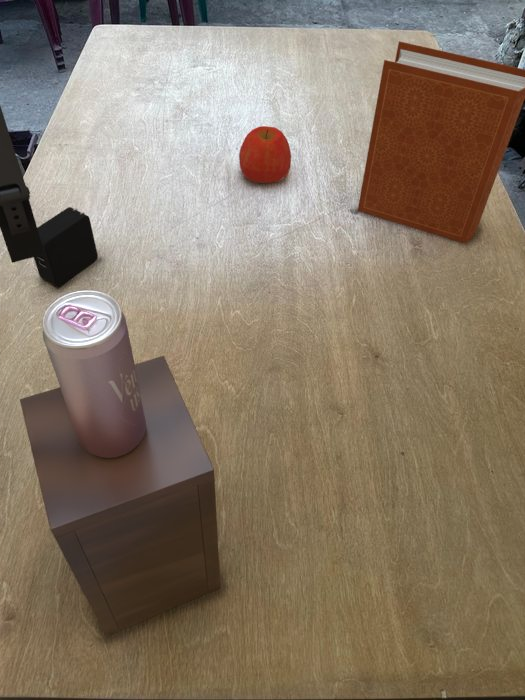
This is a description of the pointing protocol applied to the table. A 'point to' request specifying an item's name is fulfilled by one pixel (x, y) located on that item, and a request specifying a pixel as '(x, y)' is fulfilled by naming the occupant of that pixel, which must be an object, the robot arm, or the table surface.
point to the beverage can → (95, 371)
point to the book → (439, 139)
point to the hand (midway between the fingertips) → (10, 211)
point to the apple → (265, 155)
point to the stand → (130, 504)
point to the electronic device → (65, 246)
